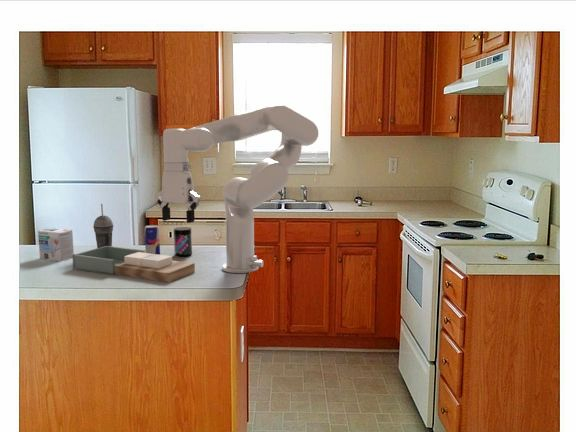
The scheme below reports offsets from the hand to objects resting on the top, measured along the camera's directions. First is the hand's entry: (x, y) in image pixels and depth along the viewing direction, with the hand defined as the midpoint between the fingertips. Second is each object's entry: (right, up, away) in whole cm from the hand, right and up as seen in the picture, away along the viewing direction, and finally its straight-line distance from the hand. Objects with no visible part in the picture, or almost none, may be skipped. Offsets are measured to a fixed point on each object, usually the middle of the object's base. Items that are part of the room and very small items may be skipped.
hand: (178, 221), depth 170 cm
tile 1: (-15, -14, +9) cm, 23 cm away
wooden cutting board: (-9, -18, +7) cm, 21 cm away
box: (-27, -16, +15) cm, 35 cm away
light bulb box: (-51, -14, +28) cm, 60 cm away
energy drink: (-15, -14, +28) cm, 35 cm away
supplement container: (-5, -14, +32) cm, 35 cm away
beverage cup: (-34, -14, +31) cm, 48 cm away
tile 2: (-8, -15, +6) cm, 18 cm away
